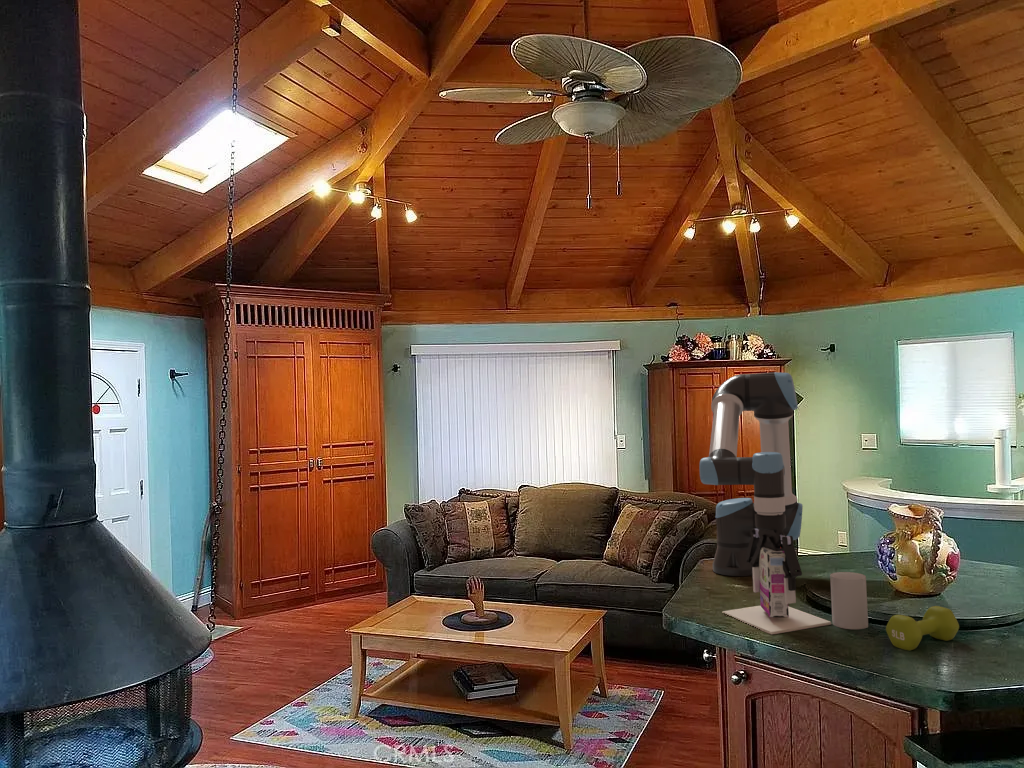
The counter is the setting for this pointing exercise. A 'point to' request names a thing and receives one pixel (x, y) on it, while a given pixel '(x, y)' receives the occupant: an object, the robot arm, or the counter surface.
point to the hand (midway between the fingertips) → (774, 597)
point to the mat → (776, 620)
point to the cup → (849, 600)
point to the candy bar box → (772, 583)
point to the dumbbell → (922, 627)
